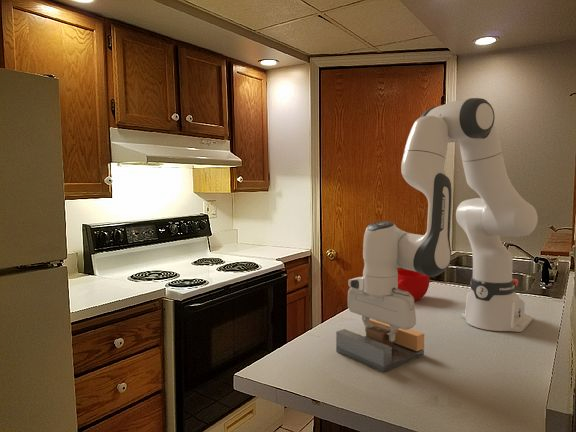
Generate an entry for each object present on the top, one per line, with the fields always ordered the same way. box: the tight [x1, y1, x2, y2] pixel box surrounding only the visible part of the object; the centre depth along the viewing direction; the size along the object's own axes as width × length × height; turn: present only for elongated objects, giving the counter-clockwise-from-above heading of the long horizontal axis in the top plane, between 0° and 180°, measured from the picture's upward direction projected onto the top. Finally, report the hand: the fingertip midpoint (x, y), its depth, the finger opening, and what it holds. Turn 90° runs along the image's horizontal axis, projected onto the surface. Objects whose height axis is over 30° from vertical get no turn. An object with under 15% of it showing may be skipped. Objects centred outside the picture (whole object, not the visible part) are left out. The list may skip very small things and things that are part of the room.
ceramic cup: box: [397, 268, 431, 302], centre depth 161 cm, size 13×17×10 cm
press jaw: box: [370, 319, 425, 351], centre depth 117 cm, size 3×16×4 cm, turn 38°
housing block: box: [365, 325, 394, 349], centre depth 113 cm, size 5×5×5 cm
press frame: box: [335, 328, 425, 374], centre depth 113 cm, size 16×16×6 cm
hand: (379, 336), depth 113 cm, fingers open, 6 cm apart
